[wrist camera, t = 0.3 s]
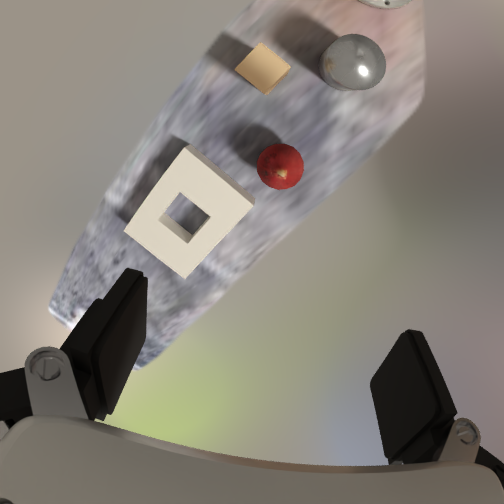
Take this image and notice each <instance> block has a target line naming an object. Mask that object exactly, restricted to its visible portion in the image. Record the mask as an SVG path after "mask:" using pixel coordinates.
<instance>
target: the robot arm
mask: <svg viewBox="0 0 504 504" xmlns="http://www.w3.org/2000/svg"><path fill="white" fill-rule="evenodd" d="M358 1H360V2H362V3H364V4H366V5H369V6H371V7H375V8H380V9H396V8H400V7H403V6H405V5H406V4H408V3H409V2H411V1H412V0H358ZM384 3H386V5H385V4H384ZM147 288H148V278H147V277H144V276H143V272H141V271H138V270H134V269H130V268H126V269H125V271H124V272H123V273H122V274H121V276H120V277H119V278H118V280H117V281H116V282H115V284H114V285H113V286H112V288H111V289H110V290H109V292H108V293H107V294H106V296H105V297H104V299H103V300H102V299H99V298H98V299H96V300H95V301H94V302H93V303H92V304H91V306H90V307H89V308H88V310H87V311H86V312H85V314H84V315H83V317H82V318H81V319H80V321H79V322H78V323H77V325H76V326H75V328H74V329H73V330H72V332H71V333H70V335H69V336H68V338H67V339H66V341H65V342H64V343H63V345H62V346H61V348H60V349H58V348H54V347H41V348H39V349H36V350H34V351H33V352H31V353H30V355H29V356H28V357H27V359H26V361H25V367H24V368H19V369H15V370H11V371H7V372H3V373H0V504H504V464H503V463H502V462H501V461H500V460H498V459H497V458H496V457H494V456H493V455H492V454H490V453H489V452H488V451H487V450H485V449H483V447H481V446H480V441H481V436H480V431H479V429H478V427H477V426H476V425H475V424H474V423H473V422H472V421H471V420H469V419H467V418H458V419H457V420H454V416H455V415H456V414H457V410H456V408H455V406H454V403H453V400H452V398H451V395H450V393H449V390H448V388H447V386H446V383H445V381H444V379H443V376H442V374H441V372H440V369H439V367H438V365H437V363H436V360H435V358H434V356H433V354H432V352H431V349H430V347H429V345H428V343H427V341H426V339H425V337H424V335H423V333H422V332H420V331H416V330H410V329H408V330H406V331H405V332H403V333H402V334H401V335H400V336H399V338H398V340H397V341H396V343H395V344H394V346H393V347H392V349H391V351H390V352H389V354H388V355H387V357H386V358H385V360H384V361H383V363H382V364H381V366H380V367H379V369H378V370H377V372H376V373H375V375H374V376H373V377H372V379H371V382H370V388H371V393H372V397H373V401H374V406H375V410H376V415H377V420H378V425H379V430H380V435H381V440H382V445H383V450H384V455H385V457H386V458H388V463H389V465H382V466H328V465H327V466H325V465H308V464H294V463H284V462H274V461H266V460H258V459H251V458H244V457H238V456H231V455H226V454H220V453H215V452H210V451H205V450H200V449H196V448H191V447H187V446H183V445H178V444H175V443H171V442H166V441H163V440H159V439H155V438H151V437H148V436H144V435H141V434H137V433H134V432H131V431H128V430H124V429H121V428H117V427H114V426H110V425H107V424H104V423H100V422H96V421H94V420H95V418H96V419H99V420H102V421H104V419H105V417H106V415H107V414H109V415H111V414H112V413H113V411H114V409H115V406H116V404H117V402H118V399H119V397H120V395H121V393H122V390H123V388H124V386H125V383H126V381H127V379H128V377H129V374H130V372H131V370H132V368H133V366H134V364H135V362H136V359H137V357H138V355H139V353H140V351H141V349H142V347H143V344H144V342H145V338H146V317H147ZM402 463H403V464H402Z"/></svg>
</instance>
